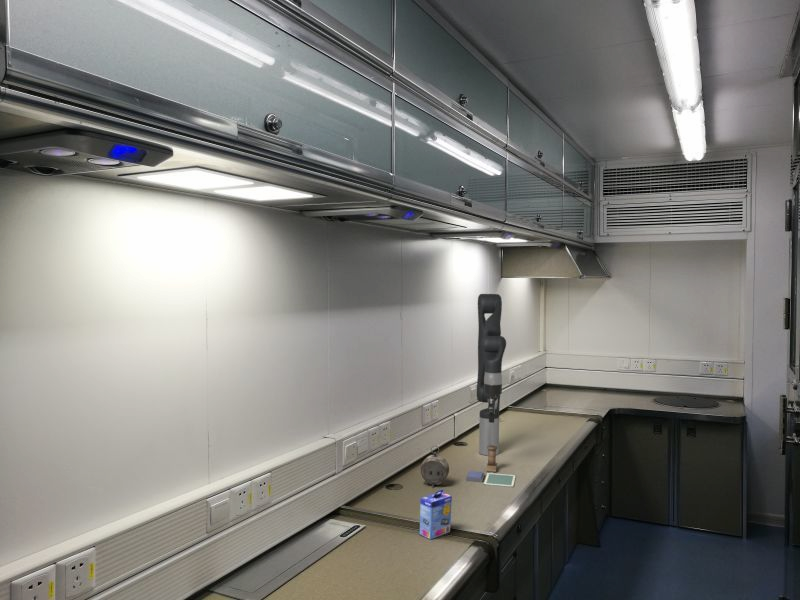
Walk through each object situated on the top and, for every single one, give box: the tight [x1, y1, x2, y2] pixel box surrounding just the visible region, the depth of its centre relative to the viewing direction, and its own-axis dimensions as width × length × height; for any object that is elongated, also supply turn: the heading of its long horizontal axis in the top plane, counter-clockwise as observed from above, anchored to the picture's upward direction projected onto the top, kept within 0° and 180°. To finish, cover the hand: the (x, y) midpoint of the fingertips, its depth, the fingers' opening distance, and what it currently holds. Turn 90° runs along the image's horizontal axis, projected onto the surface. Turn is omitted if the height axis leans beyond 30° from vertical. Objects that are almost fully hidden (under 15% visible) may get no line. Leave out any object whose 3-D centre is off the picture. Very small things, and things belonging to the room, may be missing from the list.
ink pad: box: [465, 470, 485, 483], centre depth 261 cm, size 8×6×2 cm
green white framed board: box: [483, 472, 516, 488], centre depth 259 cm, size 15×12×1 cm
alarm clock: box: [420, 445, 450, 488], centre depth 250 cm, size 11×5×16 cm, turn 74°
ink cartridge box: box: [419, 489, 453, 541], centre depth 203 cm, size 10×6×14 cm, turn 135°
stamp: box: [486, 445, 498, 474], centre depth 272 cm, size 6×4×10 cm
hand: (492, 420), depth 271 cm, fingers open, 8 cm apart
